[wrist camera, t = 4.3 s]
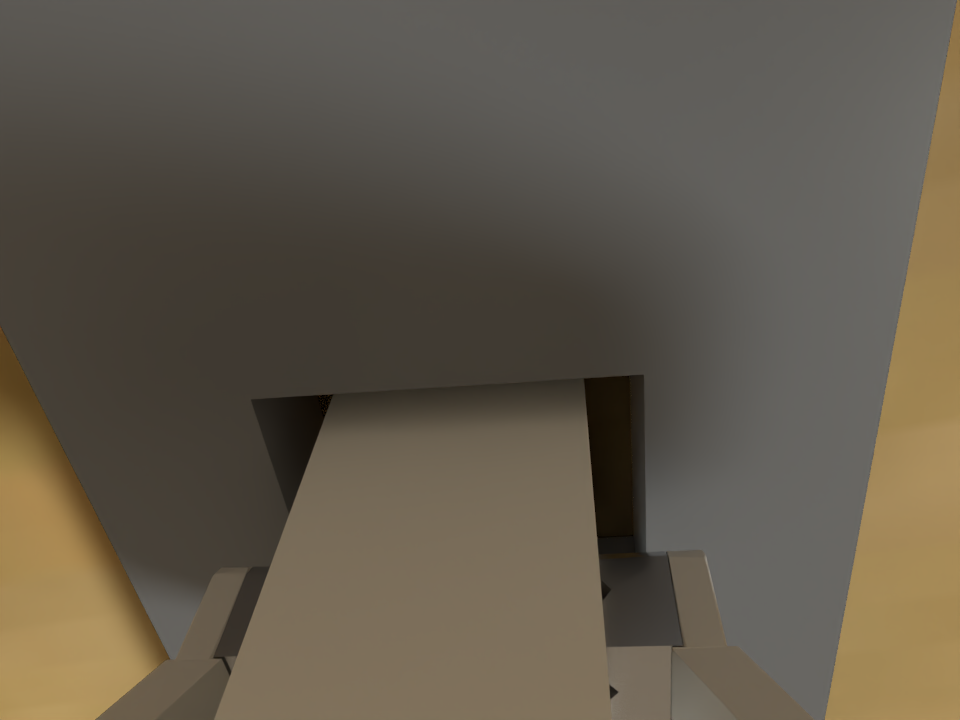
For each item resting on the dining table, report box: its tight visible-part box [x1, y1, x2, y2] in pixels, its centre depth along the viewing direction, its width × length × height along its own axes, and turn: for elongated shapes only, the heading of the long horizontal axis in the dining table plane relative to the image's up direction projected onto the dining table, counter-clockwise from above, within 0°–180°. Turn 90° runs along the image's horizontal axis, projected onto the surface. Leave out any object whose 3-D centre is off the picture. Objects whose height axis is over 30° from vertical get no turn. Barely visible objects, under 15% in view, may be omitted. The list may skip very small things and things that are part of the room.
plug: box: [214, 378, 612, 720], centre depth 12 cm, size 4×5×8 cm
